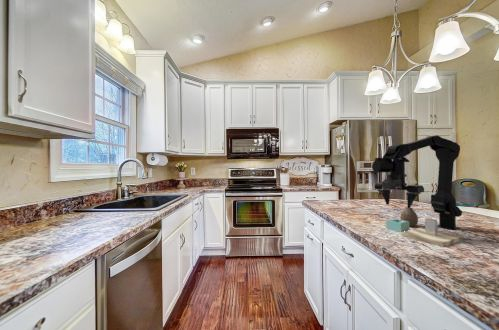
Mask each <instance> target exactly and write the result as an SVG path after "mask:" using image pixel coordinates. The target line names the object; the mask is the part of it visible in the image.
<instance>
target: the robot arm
mask: <svg viewBox="0 0 499 330" xmlns="http://www.w3.org/2000/svg"><path fill="white" fill-rule="evenodd" d="M427 147H429V148H430V149H431V150H432V151H433V152H434V153H435V157H436V159H437V160H438V163H439V164H438V174H437V188H436V189H437V191H436V192H434V193H435V194H430V195H431V196H430V202H429V203H430V204H431V207H432V209H433V212H434V213H436V214H438V219H439V220H438V224H437V228H441V229H442V228H443V229H446V230H451V231H453V230H457V229H460V226H457V217H461V216H462V214H463V211H462V210H461V209H460V208H459V207H458V206H457V201H456V198H455V196H454V195H453V193H452V190H453V189H452V188H453V176H454V175H453V172H454V163H455V161H456V159H457V158H458V157H459V155H460V151H461V146H460V144H458V143H457V142H454V141H452V140H450V139H447V138H444V137H441V136H440V135H436V134H435V135H429V136H426V137H424V138H421V139H418V140H417V139H416V140H414V141H410V142H407V143H403V144H402V143H401V144H393V145H392V144H391V145H390V146H387V150H386V152H384V153H385V154H384V155H383V156H382V157H375V158H374V160H373V163H372V165H371V167H372V171H373V172H374V173H376V174H377V173H380V174H381V173H384V174H385V173H389V174H387V178H386V179H383V181H381V182H376V183H375V184H374V186H373V187H374V190H377V192H379V193H381V196H382V198H383V199H384V201H385V204H386V205H387V206H389V205H390V196H391V190H392V191H393V190H399V191H401V190H402V191H407V192H405V193H406V196H407V204H406V205H407V206H406V207H408V208H412V204H413V203H414V201H415V199H416V198H417V196H418V195H421V194H422V193H425V187H424V186H423V185H421V184H420V185H419V184H410V185H408V184H407V183H406V177H407V174H406V170H405V169H406V163H410V160H409V159H408V158H407V157H406V156H408V155H410V154H411V153H412V152H414V151H418V150H420V149H423V148H427Z"/></svg>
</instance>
